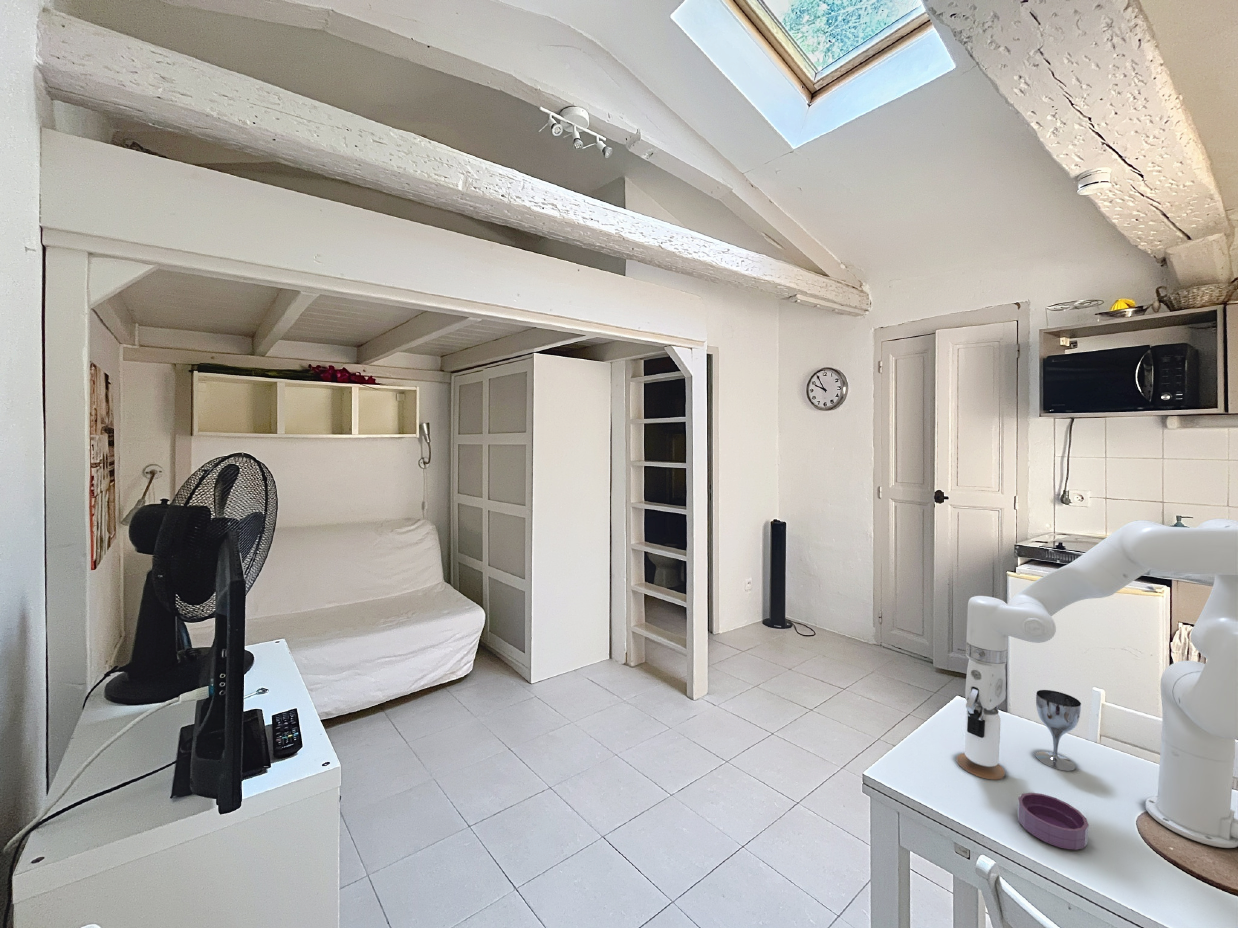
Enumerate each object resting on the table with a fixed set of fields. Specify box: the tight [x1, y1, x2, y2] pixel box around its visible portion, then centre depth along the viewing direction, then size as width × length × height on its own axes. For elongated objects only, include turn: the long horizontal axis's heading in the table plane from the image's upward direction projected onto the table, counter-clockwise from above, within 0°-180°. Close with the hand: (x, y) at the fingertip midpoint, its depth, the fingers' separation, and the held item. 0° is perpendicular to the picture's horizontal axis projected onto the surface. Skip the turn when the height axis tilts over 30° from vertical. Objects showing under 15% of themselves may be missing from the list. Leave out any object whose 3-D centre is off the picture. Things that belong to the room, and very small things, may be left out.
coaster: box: [956, 752, 1006, 781], centre depth 119 cm, size 9×9×1 cm
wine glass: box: [1034, 689, 1082, 772], centre depth 121 cm, size 8×8×15 cm
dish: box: [1016, 792, 1090, 851], centre depth 100 cm, size 10×10×4 cm
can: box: [963, 701, 1001, 767], centre depth 119 cm, size 6×6×12 cm
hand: (982, 728), depth 119 cm, fingers closed on can, 6 cm apart
